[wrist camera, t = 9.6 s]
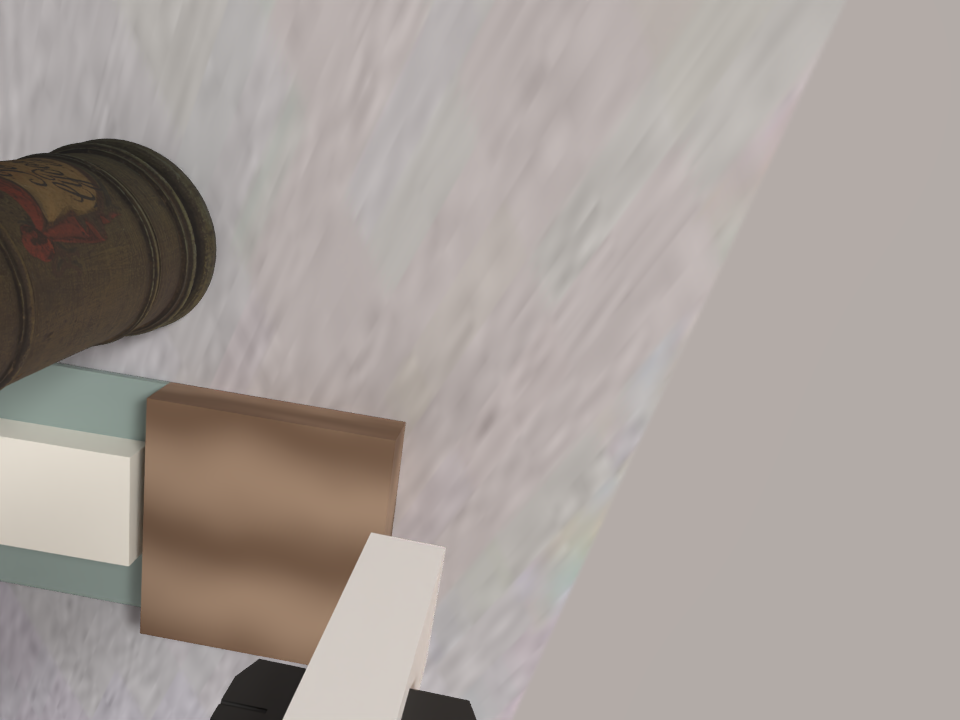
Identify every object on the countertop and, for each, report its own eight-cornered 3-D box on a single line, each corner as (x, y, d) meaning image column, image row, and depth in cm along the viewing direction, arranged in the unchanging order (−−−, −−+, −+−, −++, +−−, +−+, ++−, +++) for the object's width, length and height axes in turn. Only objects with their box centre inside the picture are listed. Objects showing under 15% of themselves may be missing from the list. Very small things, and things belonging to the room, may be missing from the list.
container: (232, 322, 41) (-10, 471, 24) (59, 330, 42) (-292, 477, 25) (203, 131, 39) (-88, 145, 22) (21, 144, 40) (-396, 166, 23)
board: (170, 382, 42) (146, 398, 40) (405, 422, 42) (395, 440, 39) (162, 606, 46) (140, 633, 44) (378, 646, 45) (367, 676, 43)
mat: (-39, 346, 43) (-44, 348, 43) (170, 382, 42) (167, 384, 42) (-30, 570, 47) (-35, 574, 46) (162, 606, 46) (159, 610, 46)
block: (-1, 417, 43) (-27, 431, 42) (149, 442, 43) (130, 457, 41) (3, 522, 45) (-22, 540, 43) (147, 547, 45) (128, 566, 43)
